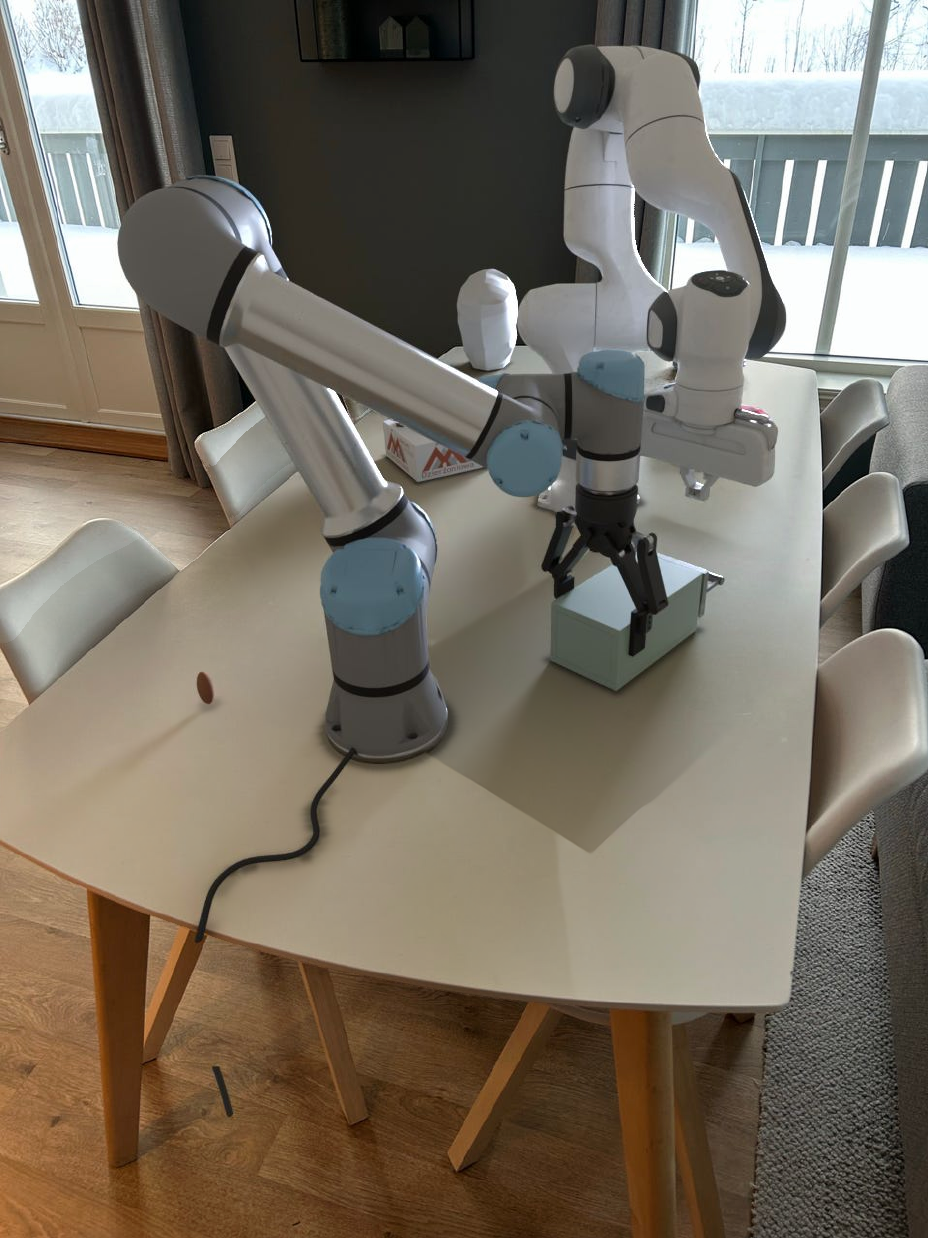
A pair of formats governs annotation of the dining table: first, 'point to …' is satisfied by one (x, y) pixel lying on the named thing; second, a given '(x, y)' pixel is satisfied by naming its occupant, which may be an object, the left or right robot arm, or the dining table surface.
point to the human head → (488, 319)
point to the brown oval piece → (205, 687)
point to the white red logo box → (422, 454)
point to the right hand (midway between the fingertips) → (697, 498)
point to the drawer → (705, 578)
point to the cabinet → (620, 624)
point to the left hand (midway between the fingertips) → (599, 635)
